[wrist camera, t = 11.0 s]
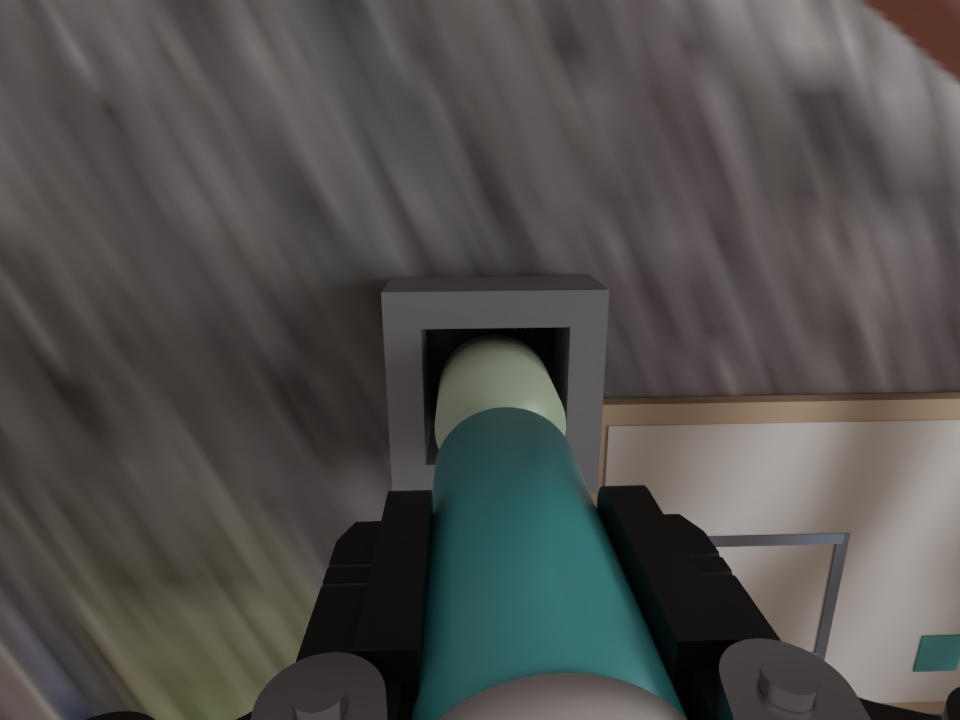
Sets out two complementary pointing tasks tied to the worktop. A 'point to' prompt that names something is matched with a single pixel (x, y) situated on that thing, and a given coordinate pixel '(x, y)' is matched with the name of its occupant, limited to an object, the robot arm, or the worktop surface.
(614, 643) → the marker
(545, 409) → the button
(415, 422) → the button housing
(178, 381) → the worktop surface
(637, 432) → the framed whiteboard
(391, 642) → the robot arm
